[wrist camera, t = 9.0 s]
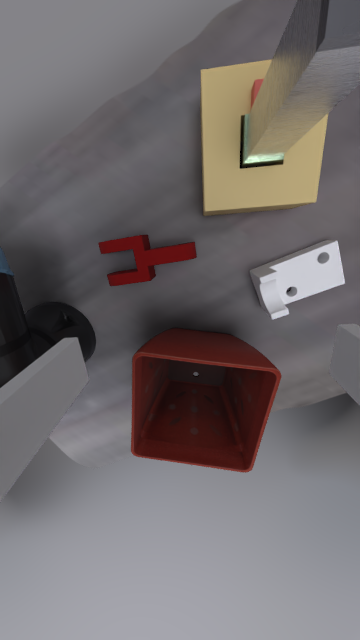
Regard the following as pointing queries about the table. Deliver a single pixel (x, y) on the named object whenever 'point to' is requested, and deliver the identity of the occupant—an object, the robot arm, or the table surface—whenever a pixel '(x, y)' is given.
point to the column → (304, 78)
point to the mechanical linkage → (144, 257)
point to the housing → (224, 149)
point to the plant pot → (201, 399)
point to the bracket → (297, 276)
